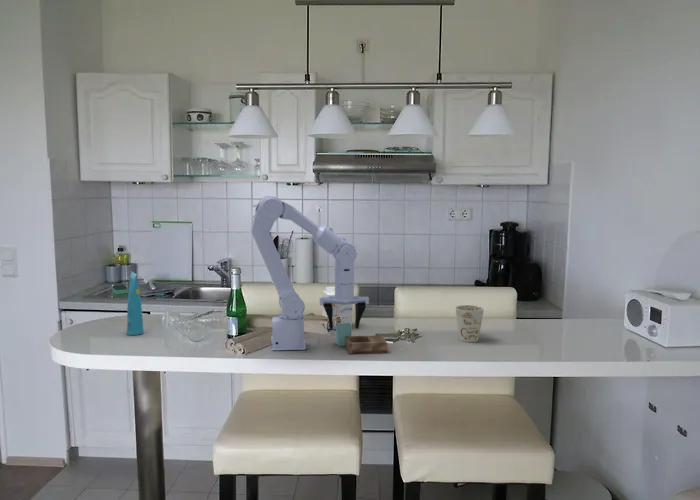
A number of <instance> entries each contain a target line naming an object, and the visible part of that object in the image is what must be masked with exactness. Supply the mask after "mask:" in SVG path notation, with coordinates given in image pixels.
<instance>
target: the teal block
mask: <svg viewBox="0 0 700 500" xmlns="http://www.w3.org/2000/svg"><path fill="white" fill-rule="evenodd" d="M335 331H336V333H335V343H336V345H337V347H345V336H352V329H351V324H350V322H348V323H336V330H335Z"/></svg>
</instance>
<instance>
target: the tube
mask: <svg viewBox="0 0 700 500" xmlns="http://www.w3.org/2000/svg"><path fill="white" fill-rule="evenodd" d="M137 275H138V274H137V273H135V272H133V271H130V276H129V284H128V292H127V293H128V295H127V307H126V308H127V309H126V310H127V312H126V313H127V314H126V335H128V336H129V335H130V336H137V335H142V334H143V333H144V322H143V319H144V318H143V308H142V302H141V300H142V299H141V298H142V297H141V291H140V287H139V282H138V281H139V280H138V278H137Z"/></svg>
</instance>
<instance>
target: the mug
mask: <svg viewBox="0 0 700 500" xmlns="http://www.w3.org/2000/svg"><path fill="white" fill-rule="evenodd" d="M455 316H456V325H457V326H456V327H457V336H458V340H459V341H461V342H465V343H476V342H479V338H480V333H481V327H482V321H483V316H484V308H483V307H481V306H478V305H470V304H469V305H466V304H464V305H463V304H462V305H457V306H455Z"/></svg>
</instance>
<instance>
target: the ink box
mask: <svg viewBox="0 0 700 500" xmlns="http://www.w3.org/2000/svg"><path fill="white" fill-rule="evenodd" d="M334 296H335V286H326V287H325V290H323V291H322V298H323V297H334ZM332 308H333V315H332V318H334V317H340V319H341V323H348V322H350V324H351V330H353V304H332ZM321 310H322V311H321V312H322V313H321V315H322V316H325V317H328V316H327V313H326V311H325V309H324V306H323V305H322V309H321ZM322 316H321V317H322ZM333 330H335V331H336V327H333ZM333 330H332V331H333Z"/></svg>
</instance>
